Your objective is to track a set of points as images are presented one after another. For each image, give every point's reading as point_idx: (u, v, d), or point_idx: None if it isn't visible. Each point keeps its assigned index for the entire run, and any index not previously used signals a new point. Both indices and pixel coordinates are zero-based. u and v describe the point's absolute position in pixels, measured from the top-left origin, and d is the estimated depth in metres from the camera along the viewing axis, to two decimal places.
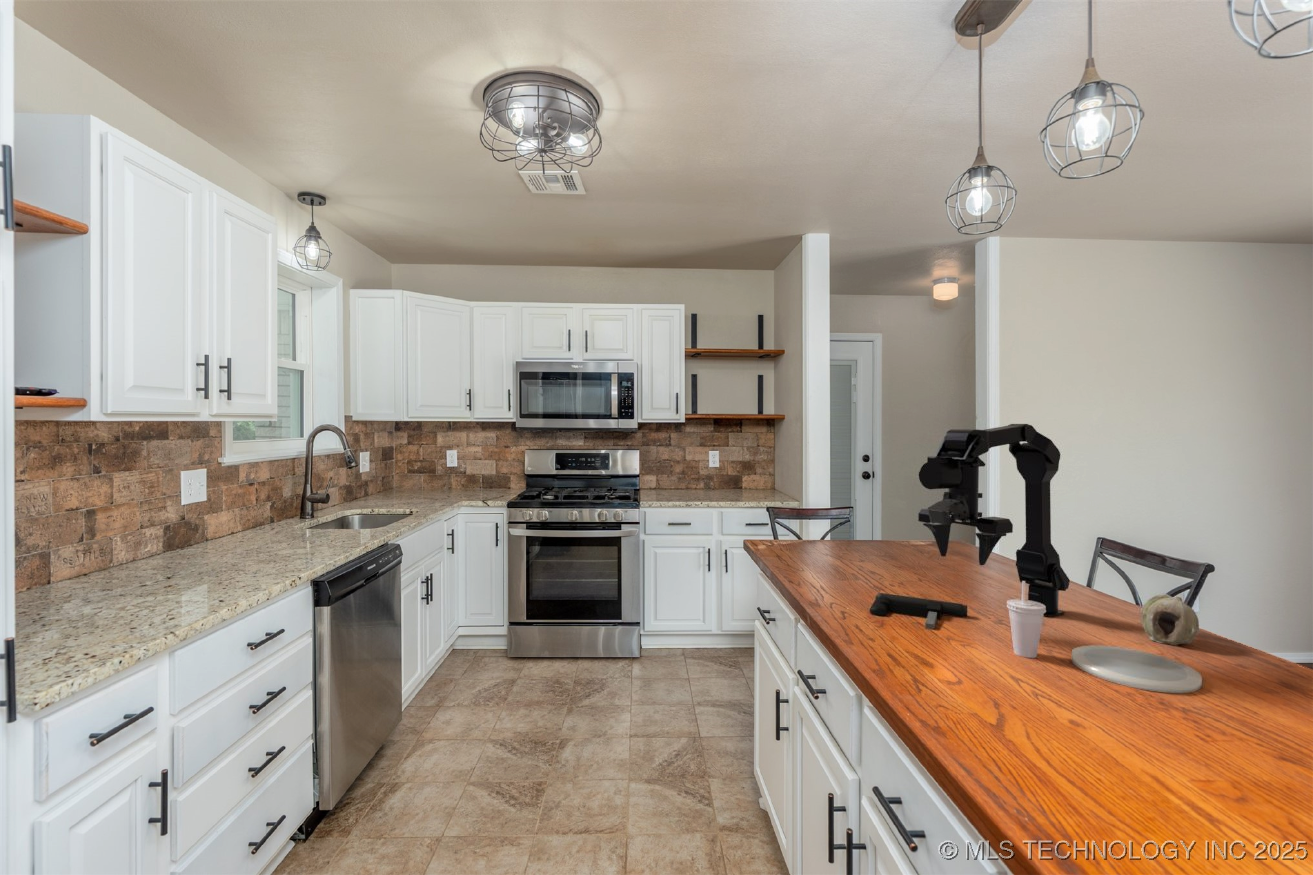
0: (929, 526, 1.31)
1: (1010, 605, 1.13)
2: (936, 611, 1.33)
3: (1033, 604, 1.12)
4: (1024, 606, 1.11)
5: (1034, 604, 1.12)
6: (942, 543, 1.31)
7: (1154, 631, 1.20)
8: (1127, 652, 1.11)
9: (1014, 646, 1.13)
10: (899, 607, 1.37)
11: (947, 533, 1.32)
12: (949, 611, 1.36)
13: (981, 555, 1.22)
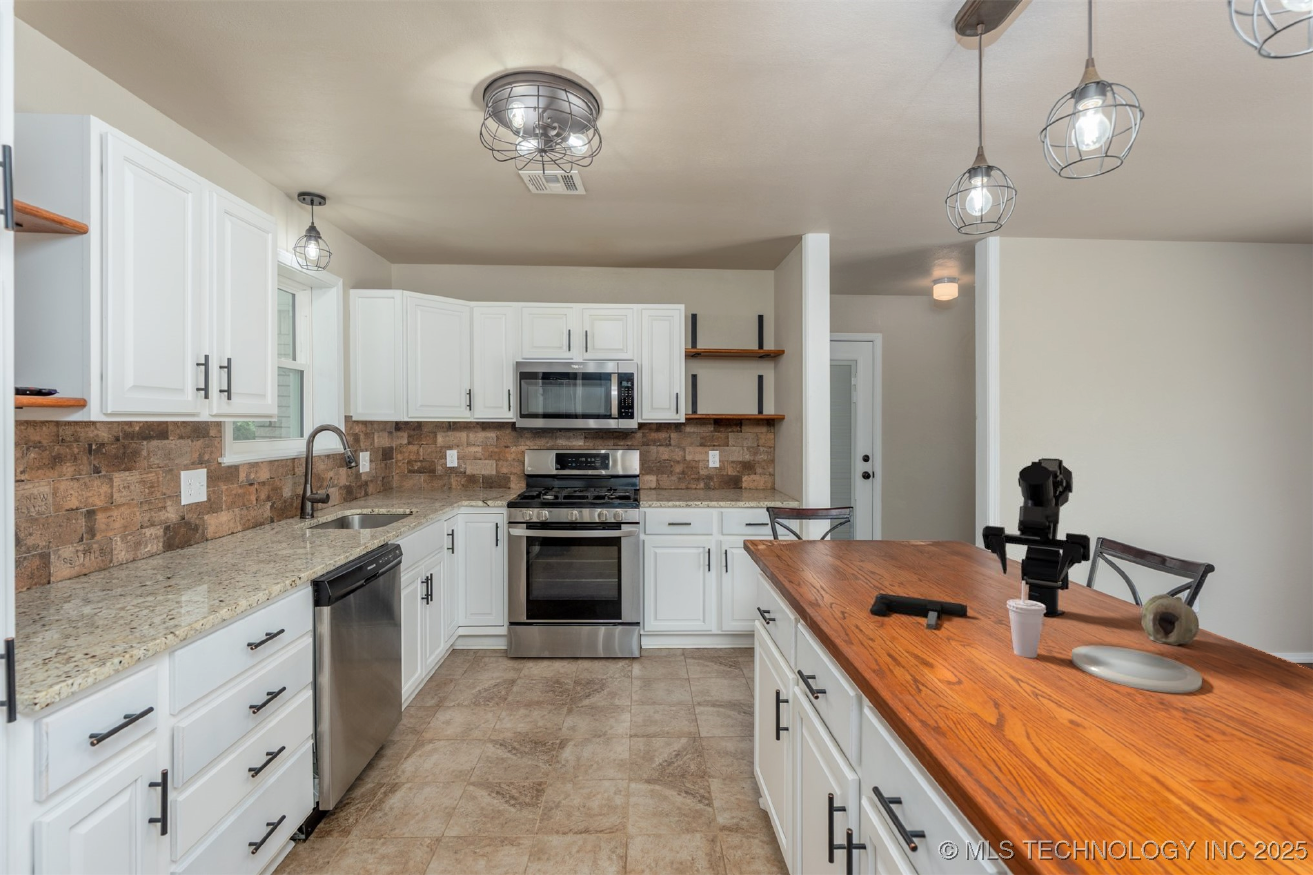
0: (998, 538, 1.25)
1: (1010, 605, 1.13)
2: (936, 611, 1.33)
3: (1033, 604, 1.12)
4: (1024, 606, 1.11)
5: (1034, 604, 1.12)
6: (1006, 560, 1.23)
7: (1154, 631, 1.20)
8: (1127, 652, 1.11)
9: (1014, 646, 1.13)
10: (899, 607, 1.37)
11: (1006, 557, 1.26)
12: (949, 611, 1.36)
13: (1062, 568, 1.17)
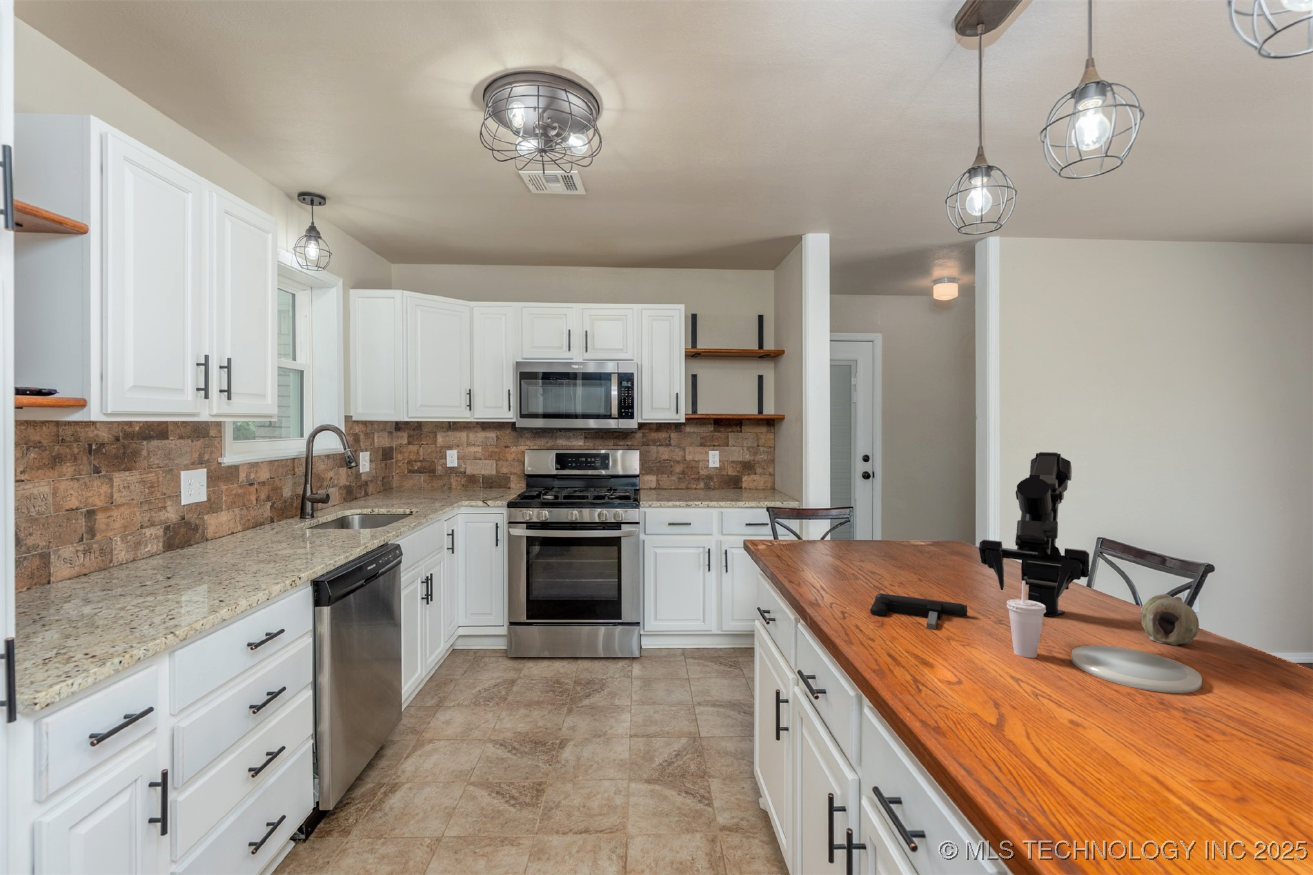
0: (995, 553, 1.22)
1: (1010, 605, 1.13)
2: (937, 611, 1.33)
3: (1033, 604, 1.12)
4: (1024, 606, 1.11)
5: (1034, 604, 1.12)
6: (1003, 575, 1.20)
7: (1154, 631, 1.20)
8: (1127, 652, 1.11)
9: (1014, 646, 1.13)
10: (899, 607, 1.37)
11: (1003, 572, 1.23)
12: (949, 611, 1.36)
13: (1060, 585, 1.14)
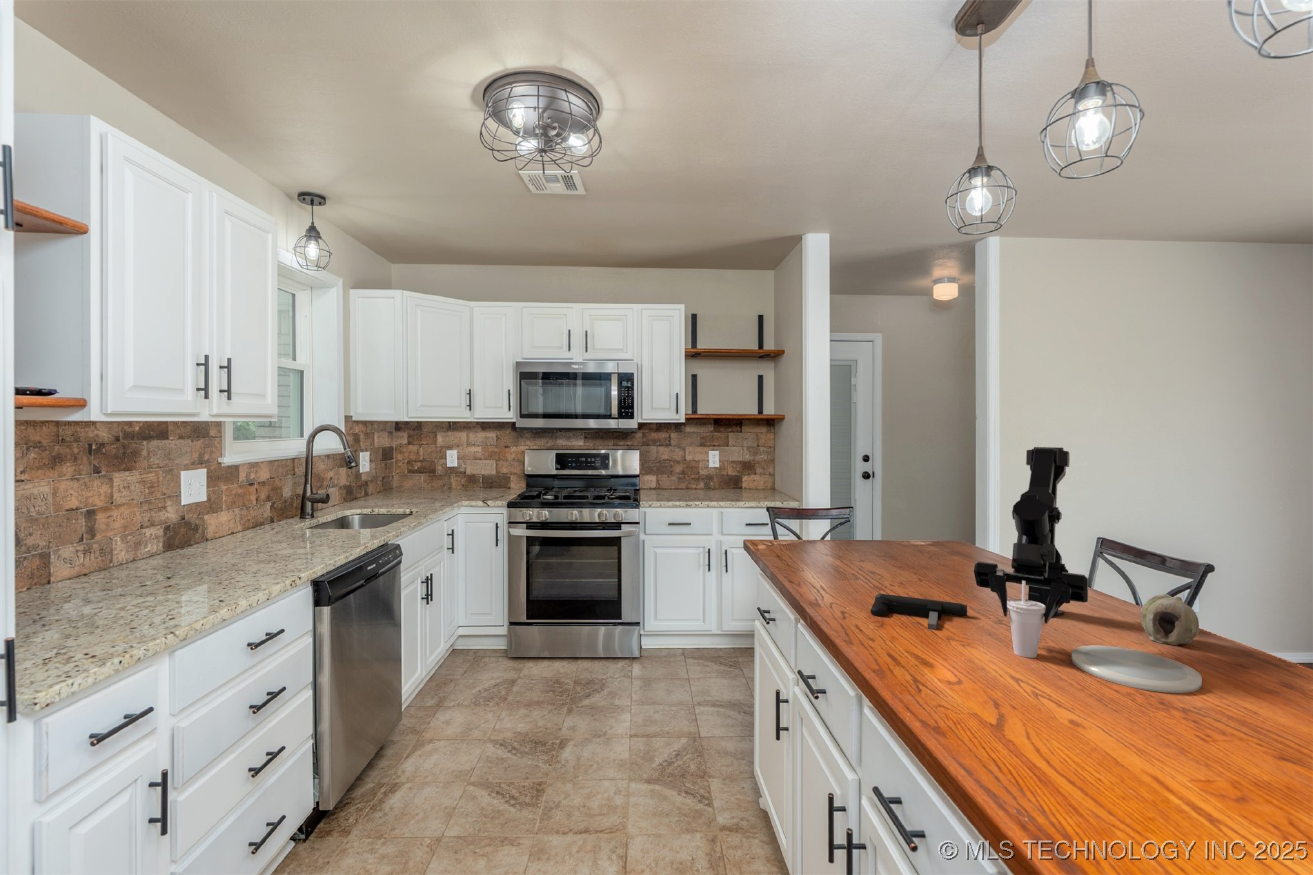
0: (998, 577, 1.17)
1: (1010, 605, 1.13)
2: (937, 611, 1.33)
3: (1033, 604, 1.12)
4: (1024, 606, 1.11)
5: (1034, 604, 1.12)
6: (1006, 601, 1.15)
7: (1154, 631, 1.20)
8: (1127, 652, 1.11)
9: (1014, 646, 1.13)
10: (900, 607, 1.37)
11: None
12: (949, 611, 1.36)
13: (1049, 610, 1.10)
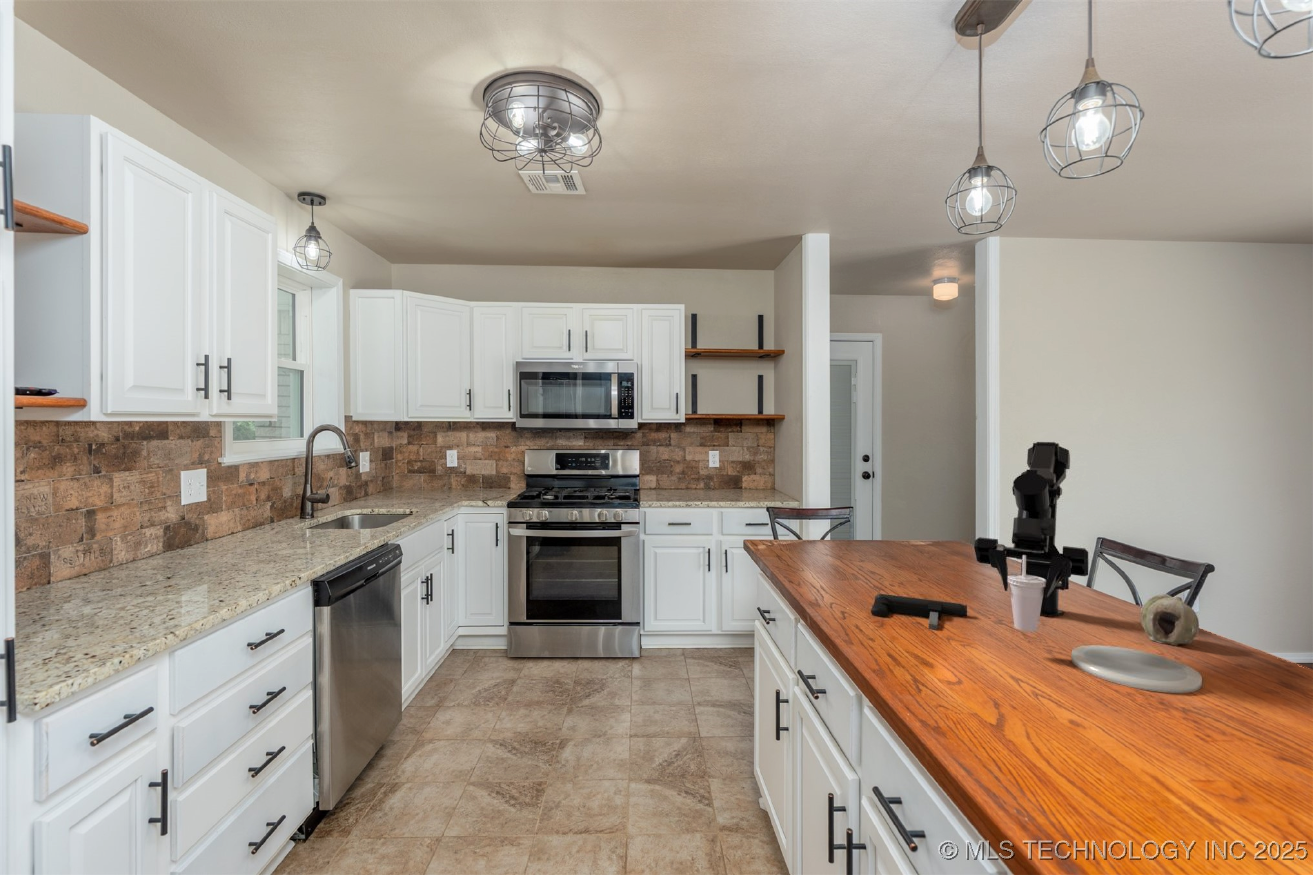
0: (999, 552, 1.17)
1: (1011, 579, 1.13)
2: (937, 611, 1.33)
3: (1034, 578, 1.12)
4: (1025, 580, 1.11)
5: (1035, 578, 1.12)
6: (1007, 576, 1.15)
7: (1154, 631, 1.20)
8: (1127, 652, 1.11)
9: (1015, 620, 1.13)
10: (900, 608, 1.37)
11: (1007, 572, 1.18)
12: (949, 611, 1.36)
13: (1050, 583, 1.10)
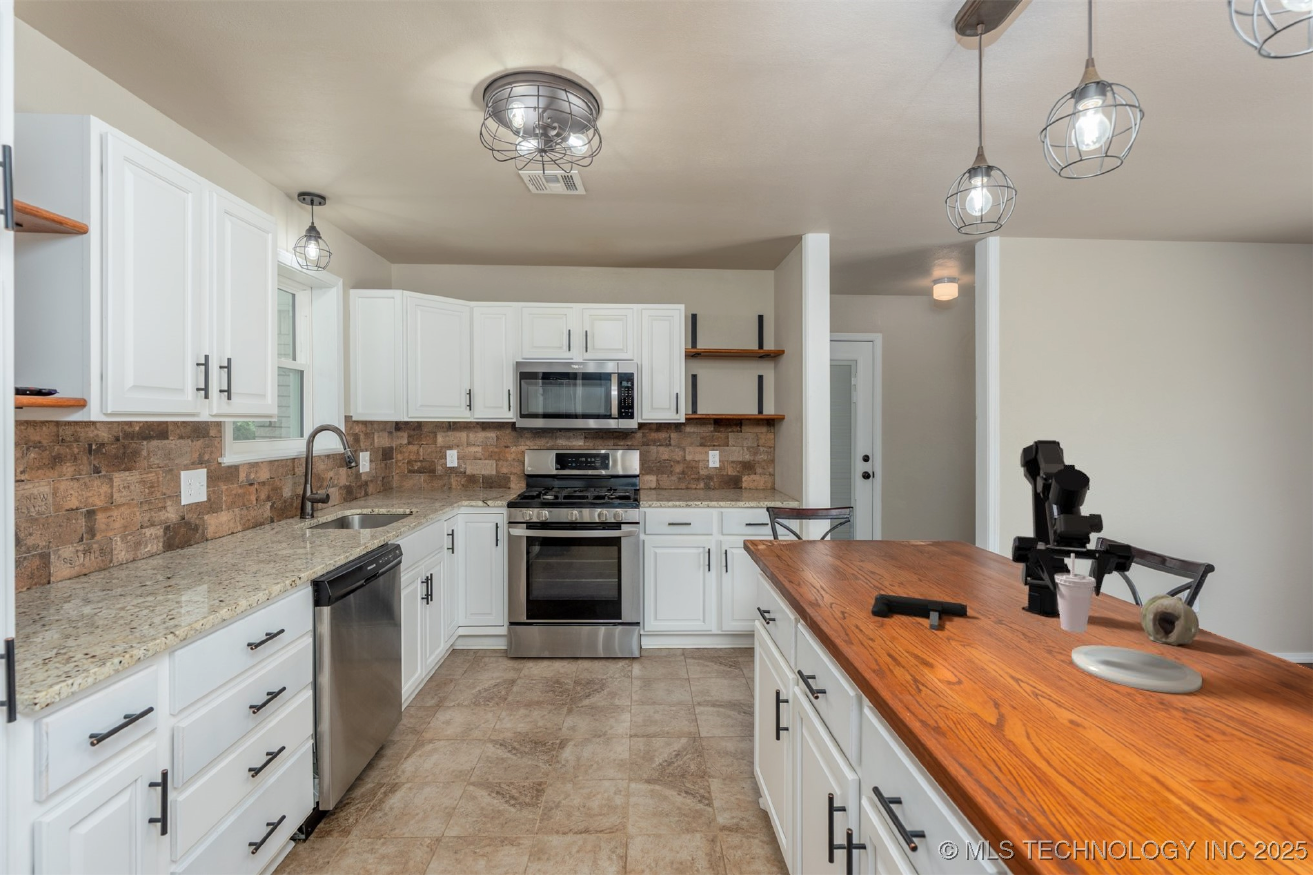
0: (1043, 551, 1.12)
1: (1061, 579, 1.08)
2: (938, 611, 1.33)
3: (1082, 577, 1.08)
4: (1077, 580, 1.07)
5: (1083, 577, 1.08)
6: None
7: (1154, 631, 1.20)
8: (1127, 652, 1.11)
9: (1063, 622, 1.09)
10: (900, 608, 1.37)
11: None
12: (949, 611, 1.36)
13: (1100, 582, 1.07)
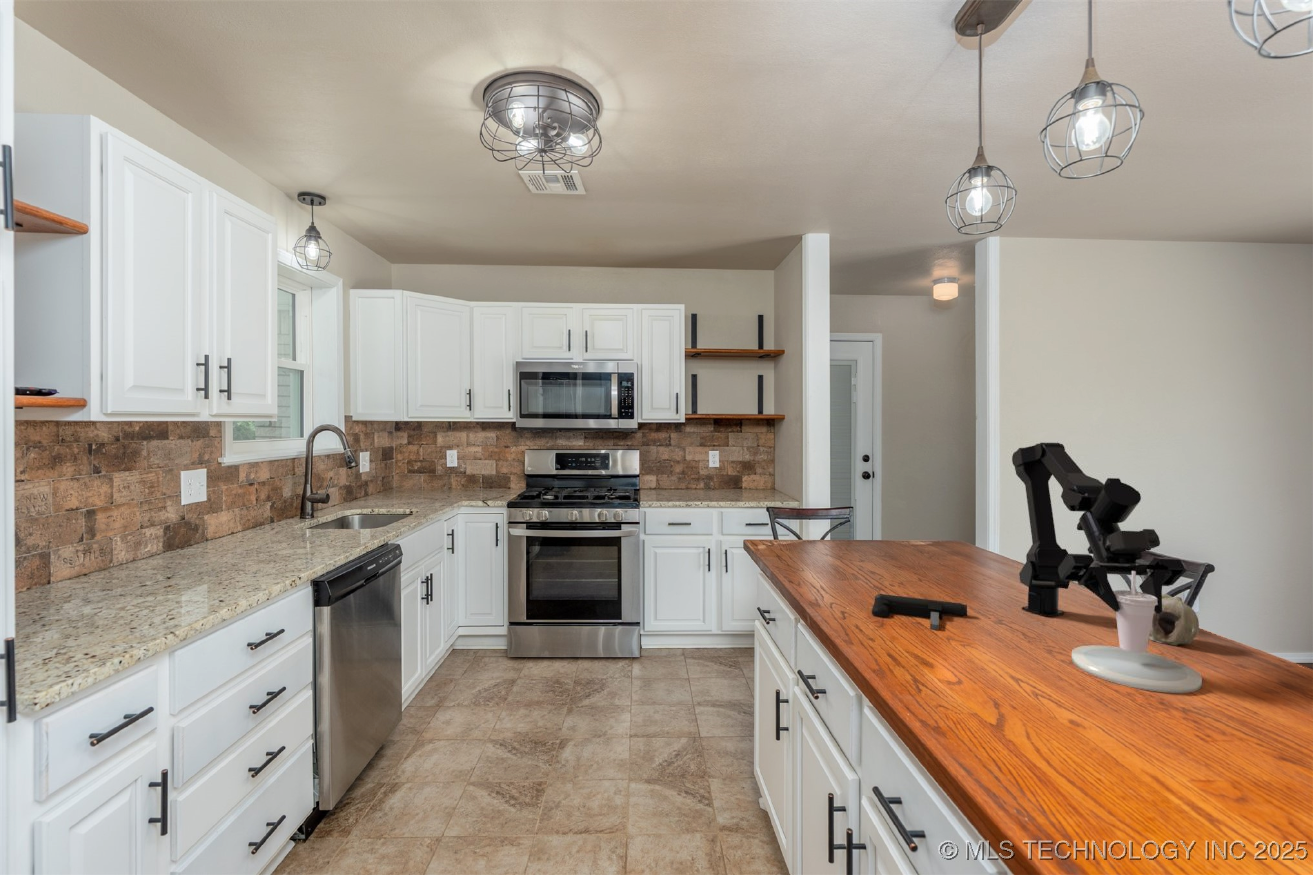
0: (1100, 569, 1.08)
1: (1126, 599, 1.04)
2: (938, 611, 1.33)
3: (1141, 595, 1.05)
4: (1142, 598, 1.03)
5: (1142, 594, 1.06)
6: None
7: (1154, 631, 1.20)
8: (1127, 652, 1.11)
9: (1126, 642, 1.05)
10: (900, 608, 1.37)
11: None
12: (949, 611, 1.36)
13: (1160, 599, 1.04)
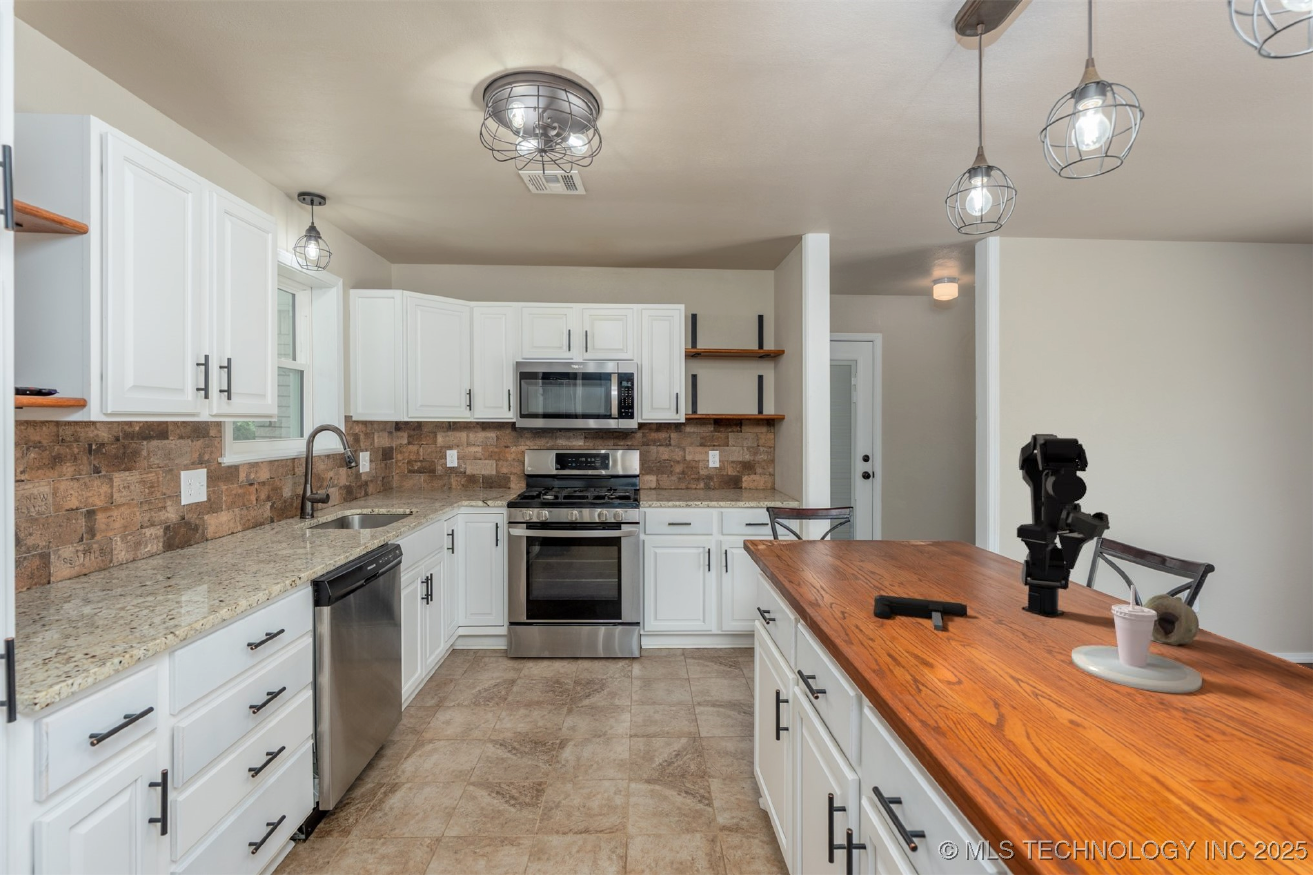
0: (1053, 544, 1.20)
1: (1125, 613, 1.04)
2: (939, 611, 1.33)
3: (1141, 609, 1.05)
4: (1141, 613, 1.03)
5: (1141, 609, 1.06)
6: None
7: (1154, 631, 1.20)
8: None
9: (1125, 657, 1.05)
10: (902, 609, 1.36)
11: None
12: (949, 610, 1.36)
13: (1076, 559, 1.26)
